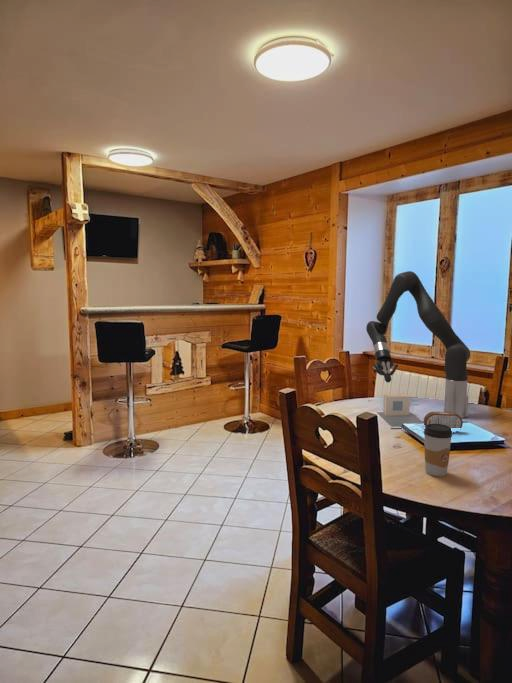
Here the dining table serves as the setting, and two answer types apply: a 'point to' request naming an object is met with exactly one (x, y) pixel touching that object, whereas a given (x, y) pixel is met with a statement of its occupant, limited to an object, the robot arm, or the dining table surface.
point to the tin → (444, 419)
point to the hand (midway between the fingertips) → (388, 381)
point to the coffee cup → (437, 449)
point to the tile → (396, 405)
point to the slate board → (400, 419)
